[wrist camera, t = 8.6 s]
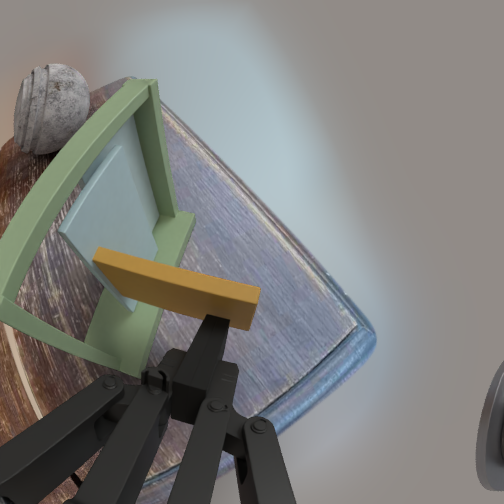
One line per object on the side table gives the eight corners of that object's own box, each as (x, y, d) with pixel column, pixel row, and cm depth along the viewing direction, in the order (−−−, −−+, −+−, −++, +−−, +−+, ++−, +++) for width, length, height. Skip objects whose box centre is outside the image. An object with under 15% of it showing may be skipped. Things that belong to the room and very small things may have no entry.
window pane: (261, 273, 25) (287, 171, 14) (245, 344, 22) (264, 285, 11) (153, 247, 26) (114, 144, 15) (127, 311, 22) (56, 231, 11)
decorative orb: (24, 147, 35) (-4, 85, 22) (86, 108, 41) (70, 43, 28) (33, 187, 31) (-9, 110, 18) (110, 137, 36) (88, 53, 23)
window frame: (196, 222, 30) (181, 79, 15) (142, 379, 21) (20, 336, 7) (147, 211, 30) (109, 80, 16) (87, 356, 21) (-43, 286, 7)
